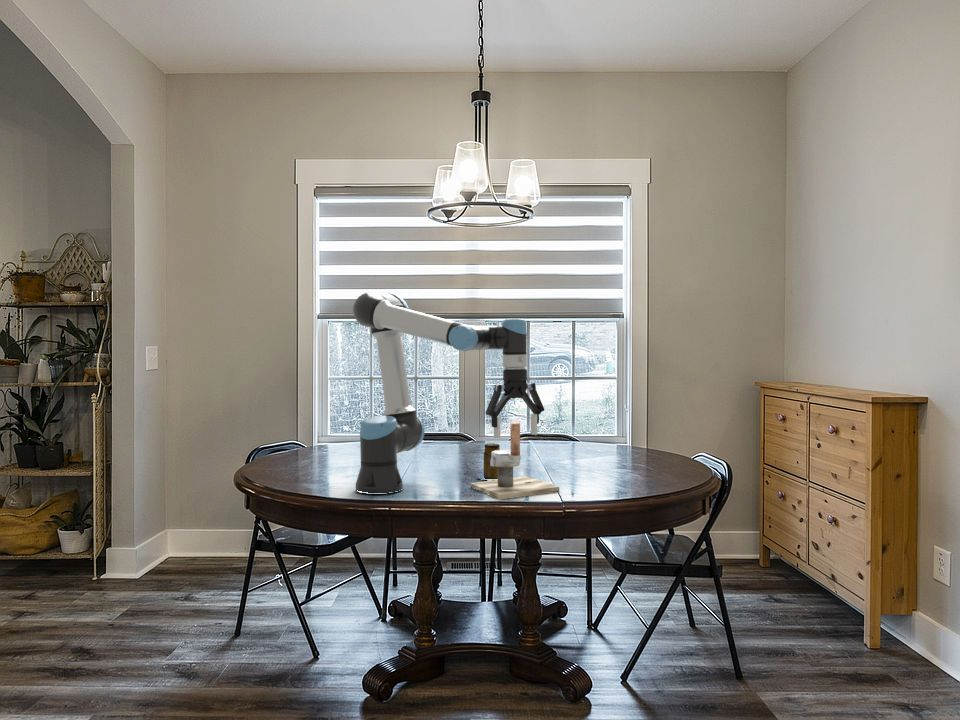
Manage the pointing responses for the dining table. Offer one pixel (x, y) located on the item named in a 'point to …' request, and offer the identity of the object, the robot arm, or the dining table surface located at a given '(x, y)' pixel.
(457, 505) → the dining table surface
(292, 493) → the dining table surface
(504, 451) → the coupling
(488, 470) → the condiment
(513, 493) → the post base
